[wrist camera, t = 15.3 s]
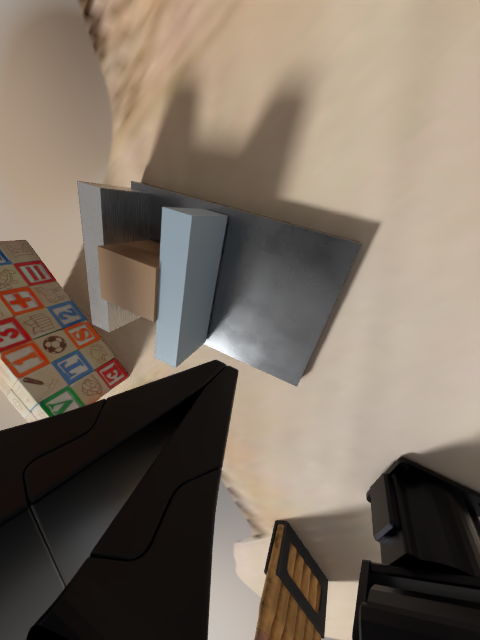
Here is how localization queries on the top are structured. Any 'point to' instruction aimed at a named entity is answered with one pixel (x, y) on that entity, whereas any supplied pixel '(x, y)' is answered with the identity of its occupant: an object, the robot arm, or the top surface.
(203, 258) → the plate
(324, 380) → the top surface
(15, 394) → the stack of blocks
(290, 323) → the vise base
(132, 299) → the walnut block
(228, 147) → the top surface
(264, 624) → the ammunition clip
